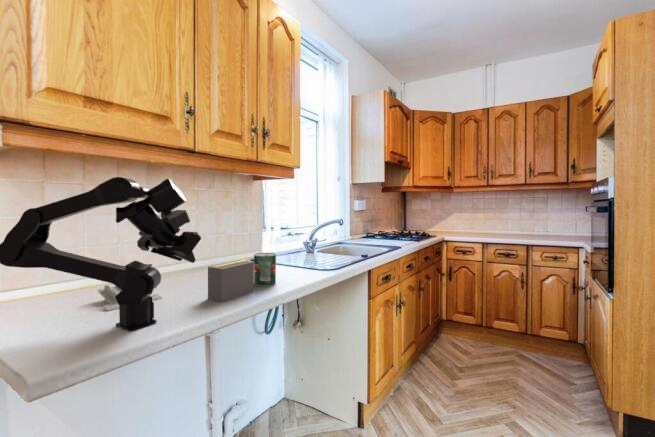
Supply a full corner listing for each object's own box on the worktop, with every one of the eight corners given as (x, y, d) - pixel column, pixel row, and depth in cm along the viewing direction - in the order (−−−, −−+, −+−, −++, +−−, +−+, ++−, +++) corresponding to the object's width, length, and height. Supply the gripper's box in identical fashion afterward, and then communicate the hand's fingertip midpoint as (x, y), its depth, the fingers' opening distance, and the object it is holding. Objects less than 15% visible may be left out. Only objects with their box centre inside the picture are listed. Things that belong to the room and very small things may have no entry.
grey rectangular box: (222, 302, 98) (222, 267, 98) (207, 299, 101) (207, 265, 101) (253, 291, 111) (253, 260, 110) (240, 289, 113) (240, 259, 113)
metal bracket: (88, 284, 95) (141, 275, 107) (86, 302, 96) (139, 291, 109) (110, 307, 88) (165, 294, 100) (107, 326, 89) (162, 311, 101)
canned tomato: (249, 283, 121) (250, 253, 120) (268, 280, 126) (269, 251, 125) (260, 288, 115) (260, 256, 114) (279, 284, 120) (280, 254, 119)
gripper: (194, 199, 81) (228, 240, 91) (147, 199, 89) (182, 236, 100) (166, 234, 74) (205, 273, 84) (118, 229, 83) (159, 266, 93)
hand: (187, 260), depth 91 cm, fingers open, 5 cm apart
